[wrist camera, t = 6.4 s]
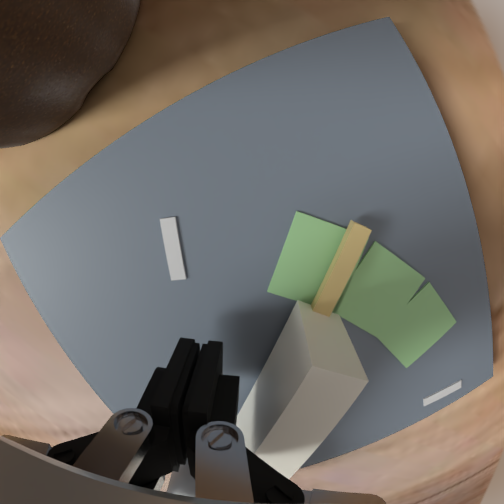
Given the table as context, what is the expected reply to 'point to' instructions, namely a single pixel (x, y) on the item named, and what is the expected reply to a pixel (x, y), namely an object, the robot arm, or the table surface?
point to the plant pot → (55, 60)
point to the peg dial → (302, 377)
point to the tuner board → (273, 234)
